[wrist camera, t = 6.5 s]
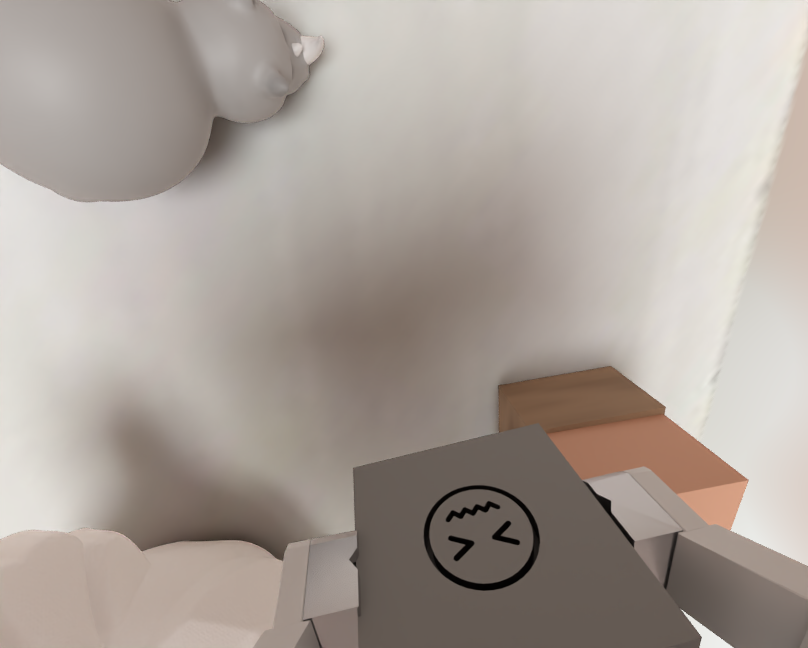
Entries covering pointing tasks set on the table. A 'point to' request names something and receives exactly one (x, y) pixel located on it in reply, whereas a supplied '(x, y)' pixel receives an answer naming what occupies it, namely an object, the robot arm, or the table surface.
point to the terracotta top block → (658, 462)
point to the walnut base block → (574, 401)
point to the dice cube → (500, 554)
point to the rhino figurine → (135, 87)
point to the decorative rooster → (133, 592)
